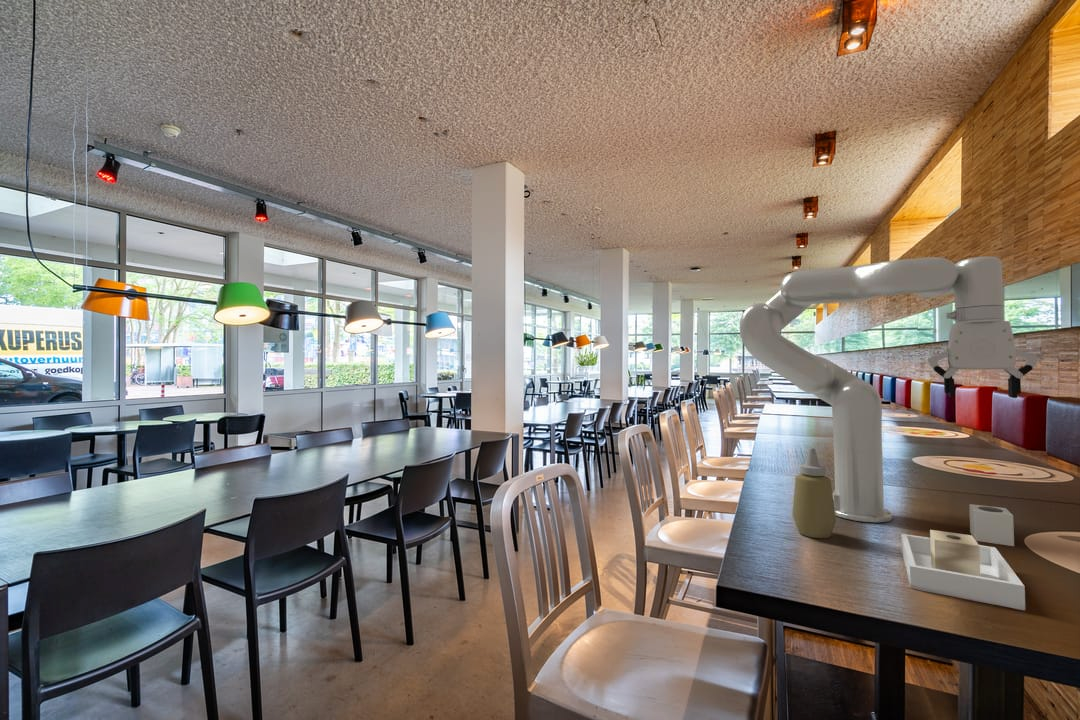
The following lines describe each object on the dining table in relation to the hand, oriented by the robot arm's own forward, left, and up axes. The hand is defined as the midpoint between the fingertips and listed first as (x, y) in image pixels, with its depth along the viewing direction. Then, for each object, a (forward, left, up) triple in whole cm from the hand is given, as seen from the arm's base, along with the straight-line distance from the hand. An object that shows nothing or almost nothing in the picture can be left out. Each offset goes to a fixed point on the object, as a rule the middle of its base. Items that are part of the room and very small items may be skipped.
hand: (981, 397), depth 99 cm
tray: (-9, -31, -28) cm, 43 cm away
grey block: (0, -5, -28) cm, 29 cm away
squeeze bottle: (-30, -20, -28) cm, 46 cm away
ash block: (-9, -31, -28) cm, 42 cm away
